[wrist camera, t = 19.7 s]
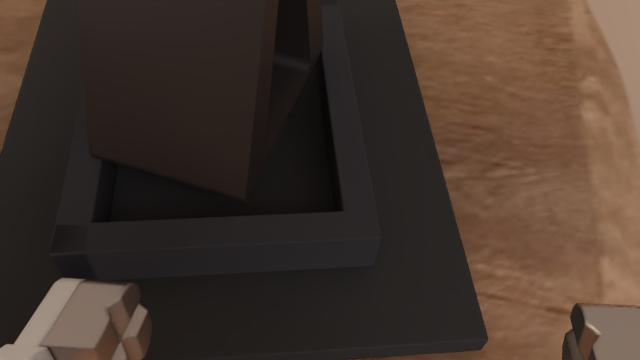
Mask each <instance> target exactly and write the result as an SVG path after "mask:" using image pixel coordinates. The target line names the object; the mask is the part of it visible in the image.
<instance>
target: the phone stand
mask: <svg viewBox="0 0 640 360" xmlns="http://www.w3.org/2000/svg"><path fill="white" fill-rule="evenodd" d="M78 10H79V24H80V38H81V51H82V65H83V79H84V92H85V106H86V119H87V133H88V147H89V154H90V156H92V157H95V158H98V159H102V160H105V161H108V162H112V163H115V164H118V165H122V166H125V167H128V168H132V169H135V170H138V171H142V172H145V173H148V174H152V175H155V176H158V177H162V178H165V179H168V180H172V181H175V182H178V183H182V184H185V185H188V186H192V187H195V188H198V189H202V190H205V191H208V192H212V193H215V194H218V195H222V196H225V197H228V198H232V199H235V200H238V201H242V202H245V203H247V202H248V201H249V199H250V197H251V195H252V193H253V191H254V189H255V187H256V185H257V183H258V181H259V179H260V177H261V175H262V172H263V170H264V168H265V166H266V164H267V162H268V160H269V158H270V156H271V154H272V152H273V150H274V148H275V146H276V144H277V141H278V139H279V137H280V135H281V133H282V131H283V129H284V127H285V125H286V123H287V119H288V116H289V115H291V113H292V110H293V108H294V106H295V104H296V102H297V100H298V98H299V96H300V94H301V92H302V90H303V88H304V86H305V84H306V82H307V79H308V77H309V75H310V73H311V71H312V69H313V67H314V65H315V63H316V61H317V59H318V57H319V55H320V53H321V50H322V47H323V41H324V38H323V25H322V13H321V0H78Z"/></svg>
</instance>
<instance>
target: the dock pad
mask: <svg viewBox="0 0 640 360" xmlns="http://www.w3.org/2000/svg"><path fill="white" fill-rule="evenodd" d="M321 13H322V25H323V38H324V41H323V47H322V50H321V53H320V55H319V57H318V59H317V61H316V63H315V65H314V67H313V69H312V71H311V73H310V75H309V77H308V79H307V82H306V84H305V86H304V88H303V90H302V92H301V94H300V96H299V98H298V100H297V102H296V104H295V106H294V108H293V110H292V113H291V115H289V116H288V119H287V123H286V125H285V127H284V129H283V131H282V133H281V135H280V137H279V139H278V141H277V144H276V146H275V148H274V150H273V152H272V154H271V156H270V158H269V160H268V162H267V164H266V166H265V168H264V170H263V172H262V175H261V177H260V179H259V181H258V183H257V185H256V187H255V189H254V191H253V193H252V195H251V197H250V199H249V201H248V202H247V203H245V202H242V201H238V200H235V199H232V198H228V197H225V196H222V195H218V194H215V193H212V192H208V191H205V190H202V189H198V188H195V187H192V186H188V185H185V184H182V183H178V182H175V181H172V180H168V179H165V178H162V177H158V176H155V175H152V174H148V173H145V172H142V171H138V170H135V169H132V168H128V167H125V166H122V165H118V164H115V163H112V162H108V161H105V160H102V159H98V158H95V157H92V156H90V154H89V147H88V133H87V119H86V106H85V92H84V79H83V65H82V51H81V38H80V24H79V10H78V0H47V2H46V5H45V9H44V12H43V15H42V19H41V22H40V25H39V29H38V32H37V35H36V38H35V42H34V45H33V48H32V52H31V55H30V58H29V62H28V65H27V68H26V71H25V75H24V78H23V81H22V85H21V88H20V91H19V95H18V98H17V101H16V104H15V108H14V111H13V114H12V118H11V121H10V124H9V128H8V131H7V134H6V137H5V141H4V144H3V147H2V151H1V154H0V348H1V347H3V346H4V345H6V344H14V343H15V341H16V340H17V338H18V337H19V335H20V334H21V332H22V331H23V329H24V328H25V326H26V325H27V323H28V322H29V320H30V319H31V317H32V316H33V314H34V313H35V311H36V310H37V308H38V307H39V305H40V304H41V302H42V301H43V299H44V298H45V296H46V295H47V293H48V292H49V290H50V289H51V287H52V286H53V284H54V283H55V282H56V281H58V280H59V279H61V278H75V279H92V280H105V281H118V282H131V283H137V284H138V287H139V289H140V291H141V293H142V297H141V299H140V301H139V304H141V305H142V306H143V307H144V308H146V309H147V310H148V312H149V314H150V317H151V323H152V333H151V339H150V345H149V347H148V350H147V352H146V355H145V357H144V358H143V359H142V360H346V359H360V358H374V357H388V356H402V355H416V354H430V353H444V352H458V351H472V350H481V349H482V348H483V346H484V345H485V344H486V342H487V341H488V336H487V332H486V329H485V325H484V321H483V318H482V314H481V310H480V307H479V303H478V300H477V296H476V292H475V289H474V285H473V281H472V278H471V274H470V270H469V267H468V263H467V259H466V256H465V252H464V249H463V245H462V241H461V238H460V234H459V230H458V227H457V223H456V219H455V216H454V212H453V208H452V205H451V201H450V197H449V194H448V190H447V187H446V183H445V179H444V176H443V172H442V168H441V165H440V161H439V157H438V154H437V150H436V146H435V143H434V139H433V136H432V132H431V128H430V125H429V121H428V117H427V114H426V110H425V106H424V103H423V99H422V95H421V92H420V88H419V85H418V81H417V77H416V74H415V70H414V66H413V63H412V59H411V55H410V52H409V48H408V44H407V41H406V37H405V33H404V30H403V26H402V23H401V19H400V15H399V12H398V8H397V4H396V1H395V0H321Z"/></svg>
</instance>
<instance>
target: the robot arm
mask: <svg viewBox="0 0 640 360" xmlns="http://www.w3.org/2000/svg"><path fill="white" fill-rule="evenodd" d="M141 297H142V293H141V291H140V289H139V287H138V284H137V283H131V282H118V281H105V280H92V279H75V278H61V279H59V280H58V281H56V282H55V283H54V284H53V286H52V287H51V289H50V290H49V292H48V293H47V295H46V296H45V298H44V299H43V301H42V302H41V304H40V305H39V307H38V308H37V310H36V311H35V313H34V314H33V316H32V317H31V319H30V320H29V322H28V323H27V325H26V326H25V328H24V329H23V331H22V332H21V334H20V335H19V337H18V338H17V340H16V341H15V343H14V344H6V345H4V346H3V347H1V348H0V360H142V359H143V358H144V357H145V355H146V352H147V350H148V347H149V345H150V339H151V333H152V323H151V317H150V314H149V312H148V310H147V309H146V308H144V307H143V306H142V305H141V304H139V301H140V299H141ZM570 319H571V323H572V327H573V329H572V330H570V331H569V332H567V333H566V334H565V338H564V342H563V347H562V360H640V306H635V305H611V304H584V303H576V305H575V306H574V307H573V309H572V312H571V316H570Z"/></svg>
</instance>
